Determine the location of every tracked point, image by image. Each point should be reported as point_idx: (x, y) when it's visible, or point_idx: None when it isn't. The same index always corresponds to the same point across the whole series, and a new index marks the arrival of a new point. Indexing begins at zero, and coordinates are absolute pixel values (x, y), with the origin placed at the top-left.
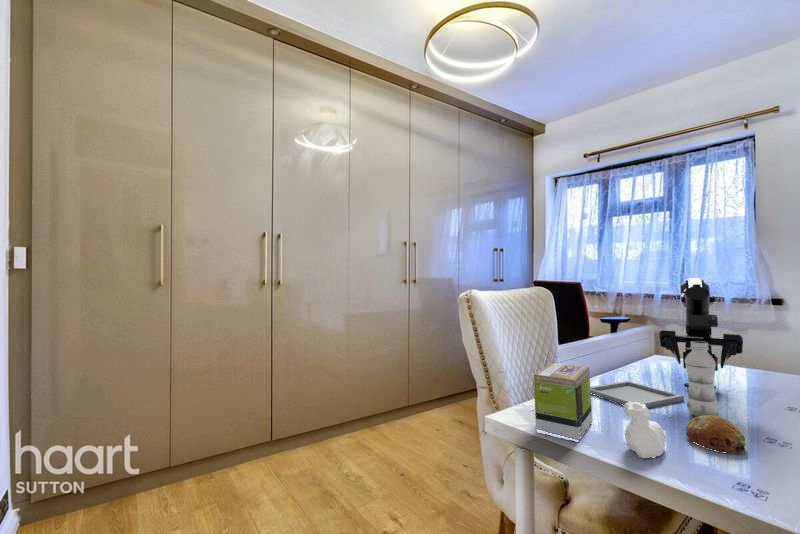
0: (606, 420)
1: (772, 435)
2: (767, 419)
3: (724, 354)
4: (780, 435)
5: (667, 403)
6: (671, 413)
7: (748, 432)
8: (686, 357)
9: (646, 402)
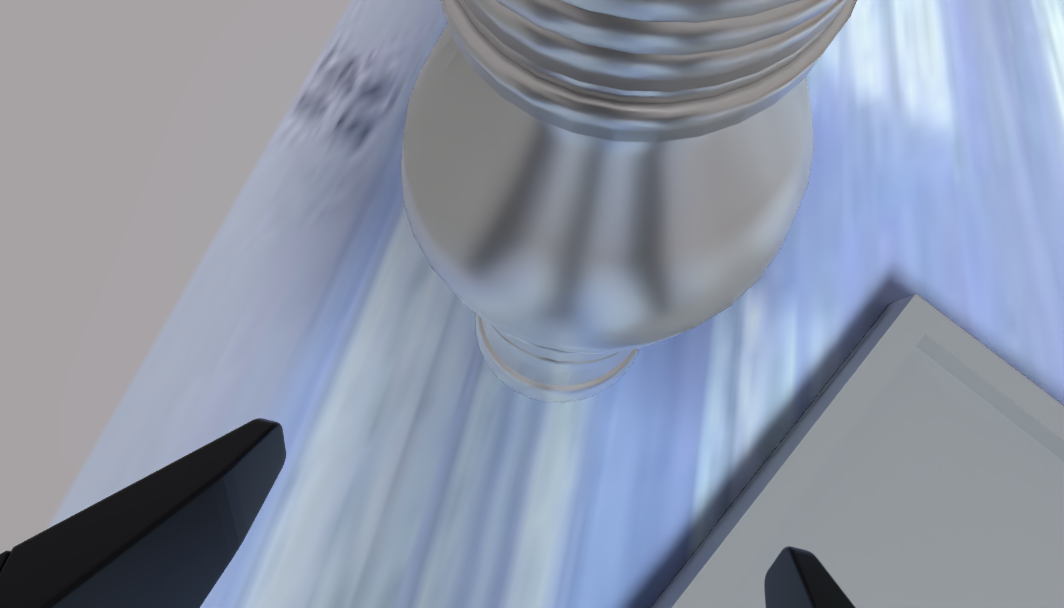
0: (1022, 81)
1: (324, 176)
2: (215, 438)
3: (14, 572)
4: (288, 190)
5: (719, 524)
6: (713, 330)
7: None
8: (809, 100)
9: (868, 372)
